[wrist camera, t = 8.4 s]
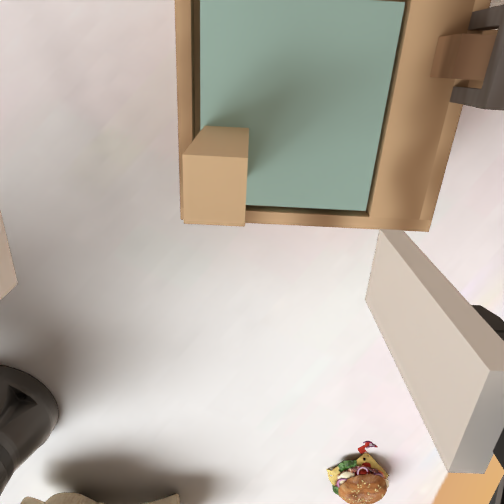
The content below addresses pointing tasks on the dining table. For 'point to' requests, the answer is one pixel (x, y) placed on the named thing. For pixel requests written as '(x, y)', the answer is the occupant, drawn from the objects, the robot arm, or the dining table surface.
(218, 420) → the dining table surface
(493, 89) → the toolbox
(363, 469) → the hamburger
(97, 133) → the dining table surface
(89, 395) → the dining table surface
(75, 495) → the beige knobby lump
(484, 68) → the block
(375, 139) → the lid
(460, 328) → the robot arm
